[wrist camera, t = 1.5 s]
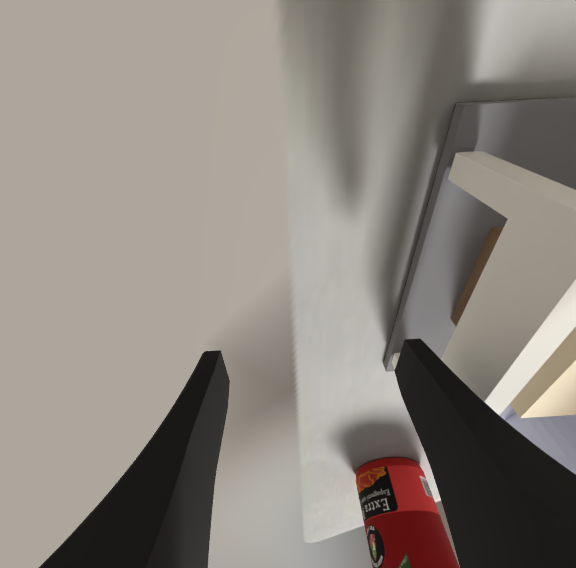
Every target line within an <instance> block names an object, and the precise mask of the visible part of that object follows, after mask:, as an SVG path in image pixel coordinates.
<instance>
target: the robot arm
mask: <svg viewBox="0 0 576 568" xmlns="http://www.w3.org/2000/svg"><path fill="white" fill-rule="evenodd" d="M395 374H396V378H397V381H398V385H399V388H400V392H401V395H402V398H403V400H404V403H405V405H406V408H407V410H408V412H409V415H410V417H411V420H412V422H413V424H414V427H415V429H416V432H417V434H418V436H419V439H420V441H421V444H422V446H423V448H424V451H425V453H426V456H427V458H428V461H429V464H430V466H431V469H432V472H433V475H434V479H435V482H436V485H437V488H438V491H439V494H440V497H441V501H442V504H443V507H444V511H445V514H446V518H447V521H448V524H449V528H450V531H451V535H452V539H453V542H454V546H455V550H456V553H457V557H458V561H459V565H460V568H576V415H564V416H548V417H532V418H519V416H518V415H517V413H516V412H515V410H514V409H513V408H512V406H511V405H510V404H509V405H508V406H507V407H506V408H505V410H504V411H503V412H502V413H501V414H500V415H498V414H497V413H496V412H495V411H494V410H493V409H491V408H490V407H489V406H488V405H487V404H486V403H485V402H484V401H483V400H482V399H480V398H479V397H478V396H477V395H476V394H475V393H474V392H473V391H472V390H471V389H470V388H469V387H468V386H467V385H466V384H465V383H464V382H463V381H462V380H461V379H460V378H459V377H458V376H457V375H456V374H455V373H454V372H453V371H452V370H451V369H450V368H449V367H448V366H447V365H446V364H445V363H444V362H443V361H442V360H441V359H440V358H439V357H438V356H437V355H436V354H435V353H434V352H433V351H432V350H431V349H430V348H429V347H428V346H427V345H426V344H425V343H424V342H423V341H422V340H421V339H420V338H419V339H405V340H404V343H403V346H402V349H401V353H400V356H399V359H398V362H397V365H396V368H395ZM229 382H230V381H229V377H228V374H227V370H226V367H225V364H224V360H223V357H222V353H221V351H206V352H204V353H203V354H202V356H201V358H200V360H199V362H198V364H197V366H196V368H195V370H194V371H193V373H192V375H191V377H190V379H189V380H188V382H187V384H186V386H185V387H184V389H183V391H182V392H181V394H180V395H179V397H178V399H177V400H176V402H175V404H174V405H173V407H172V409H171V410H170V412H169V413H168V415H167V416H166V418H165V419H164V421H163V422H162V424H161V425H160V427H159V428H158V430H157V431H156V432H155V434H154V435H153V437H152V438H151V440H150V441H149V442H148V444H147V445H146V446H145V448H144V449H143V450H142V452H141V453H140V455H139V456H138V457H137V458H136V460H135V461H134V462H133V464H132V465H131V466H130V467H129V469H128V470H127V471H126V472H125V474H124V475H123V476H122V477H121V478H120V480H119V481H118V482H117V483H116V485H115V486H114V487H113V488H112V489H111V490H110V492H109V493H108V494H107V495H106V496H105V497H104V499H103V500H102V501H101V502H100V503H99V505H97V507H96V508H95V509H94V510H93V511H92V512H91V513H90V514H89V515H88V516H87V518H86V519H85V520H84V521H83V522H82V523H81V524H80V525H79V526H78V528H77V529H76V530H75V531H74V532H73V533H72V534H71V535H70V536H69V537H68V538H67V539H66V541H65V542H64V543H63V544H62V545H61V546H60V547H59V548H58V549H57V550H56V551H55V552H54V553H53V554H52V555H51V556H50V557H49V558H48V559H47V560H46V561H45V562H44V563H43V564H42V565H41V566H40V567H39V568H208V553H209V540H210V528H211V514H212V504H213V494H214V484H215V476H216V469H217V464H218V458H219V452H220V447H221V442H222V436H223V431H224V425H225V420H226V414H227V408H228V397H229Z"/></svg>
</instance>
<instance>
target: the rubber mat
mask: <svg viewBox="0 0 576 568" xmlns="http://www.w3.org/2000/svg"><path fill="white" fill-rule="evenodd" d="M476 151H483V152H485V153H488V154H490V155H493V156H495V157H497V158H500V159H502V160H505V161H507V162H509V163H512V164H514V165H517V166H519V167H522V168H524V169H526V170H529V171H531V172H534V173H536V174H538V175H541V176H543V177H546V178H548V179H550V180H553V181H555V182H558V183H560V184H563V185H565V186H567V187H570V188H572V189H575V190H576V97H561V98H543V99H524V100H505V101H486V102H467V103H456V105H455V109H454V113H453V116H452V120H451V123H450V127H449V131H448V134H447V138H446V141H445V145H444V149H443V152H442V156H441V159H440V163H439V167H438V170H437V174H436V177H435V181H434V185H433V188H432V192H431V195H430V199H429V202H428V206H427V210H426V213H425V217H424V220H423V224H422V228H421V231H420V235H419V238H418V242H417V246H416V249H415V253H414V256H413V260H412V264H411V267H410V271H409V274H408V278H407V282H406V285H405V289H404V292H403V296H402V300H401V303H400V307H399V310H398V314H397V317H396V321H395V325H394V328H393V332H392V335H391V339H390V343H389V346H388V350H387V353H386V357H385V361H384V367H385V370H386V371H395V370H394V367H393V365H392V360H393V357H394V354H395V353H401V349H402V346H403V343H404V340H405V339H419V338H420V339H421V340H422V341H423V342H424V343H425V344H426V345H427V346H428V347H429V348H430V349H431V350H432V351H433V352H434V353H435V354H436V355H437V356H438V357H439V358H440V359H441V358H442V356H443V354H444V352H445V349H446V347H447V345H448V343H449V341H450V339H451V337H452V335H453V333H454V331H455V328H456V326H455V325H454V323H453V322H452V320H451V317H452V315H453V312H454V310H455V308H456V306H457V303H458V301H459V299H460V297H461V294H462V292H463V290H464V288H465V285H466V283H467V281H468V279H469V277H470V274H471V272H472V270H473V268H474V265H475V263H476V261H477V259H478V256H479V254H480V252H481V250H482V247H483V245H484V243H485V241H486V239H487V236H488V234H489V232H490V230H491V228H497V227H504V226H505V224H506V222H507V218H506V217H504V216H503V215H501V214H500V213H498V212H497V211H495V210H494V209H492V208H491V207H489V206H488V205H486V204H485V203H483V202H481V201H480V200H478V199H477V198H475V197H474V196H472V195H471V194H469V193H468V192H466V191H465V190H463V189H462V188H460V187H459V186H457V185H456V184H454V183H453V182H451V181H450V180H448V177H449V174H450V171H451V167H452V164H453V161H454V158H455V154H456V153H458V152H476Z"/></svg>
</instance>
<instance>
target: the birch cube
mask: <svg viewBox="0 0 576 568" xmlns="http://www.w3.org/2000/svg"><path fill="white" fill-rule="evenodd" d="M503 228H504V227H497V228H491V230H490V232H489V234H488V236H487V239H486V241H485V243H484V245H483V247H482V250H481V252H480V254H479V256H478V259H477V261H476V263H475V265H474V268H473V270H472V272H471V274H470V277H469V279H468V281H467V283H466V285H465V288H464V290H463V292H462V294H461V297H460V299H459V301H458V303H457V306H456V308H455V310H454V312H453V315H452V317H451V320H452V322H453V323H454V325H455V326H457V324H458V322H459V320H460V318H461V316H462V314H463V312H464V310H465V307H466V305H467V303H468V301H469V299H470V297H471V295H472V293H473V291H474V289H475V287H476V284H477V282H478V280H479V278H480V276H481V274H482V272H483V270H484V268H485V266H486V263H487V261H488V259H489V257H490V255H491V253H492V251H493V249H494V247H495V245H496V242H497V240H498V238H499V236H500V234H501V232H502V230H503ZM510 405H511V406H512V408H513V409H514V410H515V412H516V413H517V415H518V416H519V418H532V417H548V416H564V415H576V327H575V328H574V329H573V330H572V331H571V332H570V334H569V335H568V336H567V337H566V338H565V339H564V341H563V342H562V343H561V344H560V345H559V346H558V348H557V349H556V350H555V351H554V352H553V353H552V355H551V356H550V357H549V358H548V359H547V360H546V362H545V363H544V364H543V365H542V366H541V367H540V369H539V370H538V371H537V372H536V373H535V375H534V376H533V377H532V378H531V379H530V380H529V382H528V383H527V384H526V385H525V386H524V387H523V389H522V390H521V391H520V392H519V393H518V394H517V396H516V397H515V398H514V399H513V400H512V401H511V403H510Z"/></svg>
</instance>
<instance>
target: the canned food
mask: <svg viewBox="0 0 576 568" xmlns="http://www.w3.org/2000/svg"><path fill="white" fill-rule="evenodd" d="M356 484H357V489H358V494H359V499H360V505H361V510H362V515H363V520H364V525H365V530H366V535H367V540H368V545H369V550H370V555H371V561H372V566H373V568H459V565H458V563H457V560H456V557H455V555H454V552H453V549H452V547H451V544H450V541H449V539H448V536H447V533H446V531H445V528H444V525H443V523H442V520H441V518H440V515H439V512H438V510H437V507H436V504H435V501H434V499H433V496H432V493H431V491H430V488H429V485H428V483H427V480H426V477H425V475H424V472H423V470H422V469H421V467H420V466H419V464H418V463H417V462H415V461H414V460H411V459H408V458H400V457H392V458H383V459H378V460H374V461H371V462H368V463H366V464H364V465H362V466H361V467H360V468H359V469H358V470H357V472H356Z"/></svg>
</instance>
